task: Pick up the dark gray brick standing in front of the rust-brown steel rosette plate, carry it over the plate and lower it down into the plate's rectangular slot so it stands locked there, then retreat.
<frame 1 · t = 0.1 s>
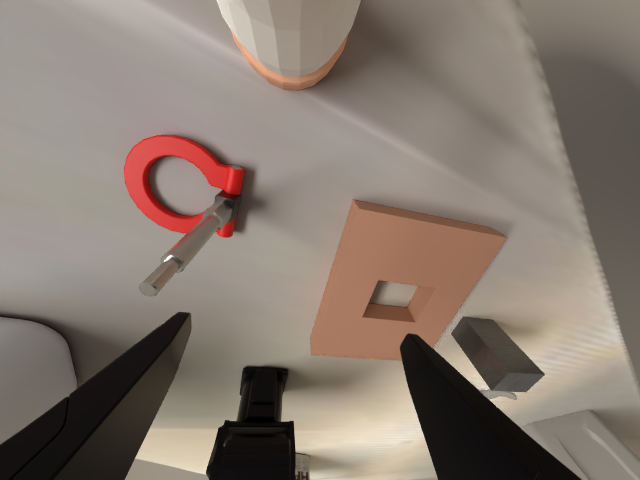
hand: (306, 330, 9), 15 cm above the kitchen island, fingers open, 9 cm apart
pliers: (473, 395, 44), on the kitchen island
tow hook: (189, 187, 21), on the kitchen island
rosette plate: (390, 288, 28), on the kitchen island
plastic bottle: (7, 352, 28), on the kitchen island
coffee box: (285, 460, 50), on the kitchen island
pepper shaker: (290, 29, 16), on the kitchen island
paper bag: (559, 425, 54), on the kitchen island
dark gray brick: (471, 326, 34), on the kitchen island
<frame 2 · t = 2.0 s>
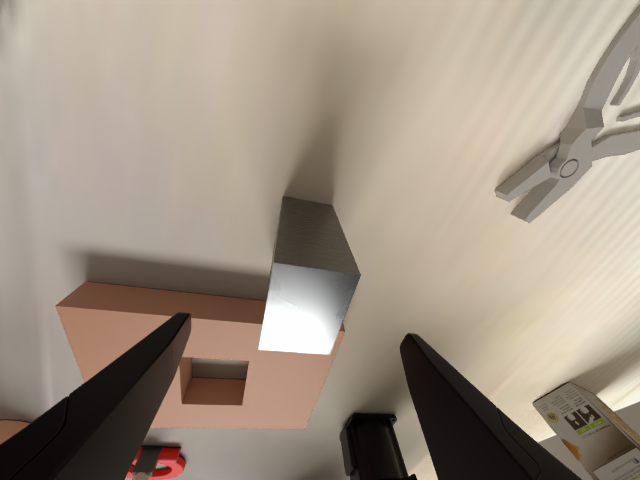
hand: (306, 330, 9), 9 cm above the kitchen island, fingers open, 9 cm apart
pliers: (595, 119, 16), on the kitchen island
tow hook: (154, 457, 32), on the kitchen island
rosette plate: (221, 357, 23), on the kitchen island
coffee box: (562, 397, 35), on the kitchen island
pepper shaker: (20, 434, 26), on the kitchen island
dark gray brick: (301, 232, 17), on the kitchen island
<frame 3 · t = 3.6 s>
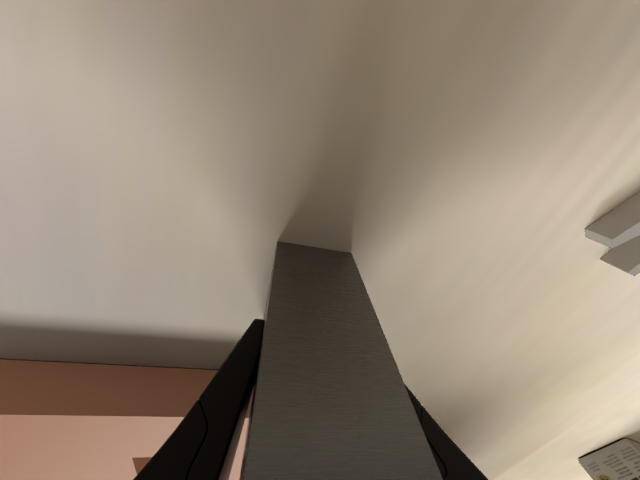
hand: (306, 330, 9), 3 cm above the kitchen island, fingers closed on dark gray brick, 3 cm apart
rosette plate: (199, 434, 17), on the kitchen island
coffee box: (612, 451, 29), on the kitchen island
dark gray brick: (304, 289, 12), on the kitchen island, touching gripper
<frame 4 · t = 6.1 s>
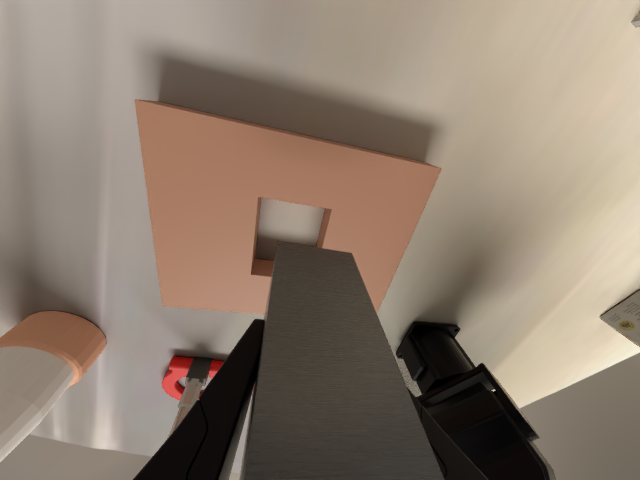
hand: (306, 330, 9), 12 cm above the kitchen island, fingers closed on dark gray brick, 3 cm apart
tow hook: (201, 376, 30), on the kitchen island
rosette plate: (289, 230, 21), on the kitchen island
coffee box: (630, 312, 32), on the kitchen island
pepper shaker: (67, 334, 24), on the kitchen island
dark gray brick: (304, 289, 12), point 10 cm above the kitchen island, touching gripper
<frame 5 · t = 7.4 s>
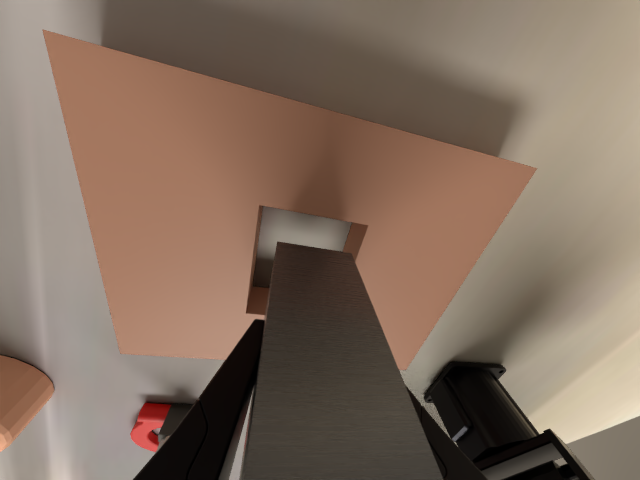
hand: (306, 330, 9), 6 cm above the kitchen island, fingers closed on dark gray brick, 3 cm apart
tow hook: (182, 422, 24), on the kitchen island
rosette plate: (301, 249, 15), on the kitchen island
pepper shaker: (0, 378, 18), on the kitchen island
dark gray brick: (304, 289, 12), point 4 cm above the kitchen island, touching gripper
when the fingers open (3 cm above the kitchen island, at t = 8.6 s): dark gray brick stays where it is, resting in rosette plate.
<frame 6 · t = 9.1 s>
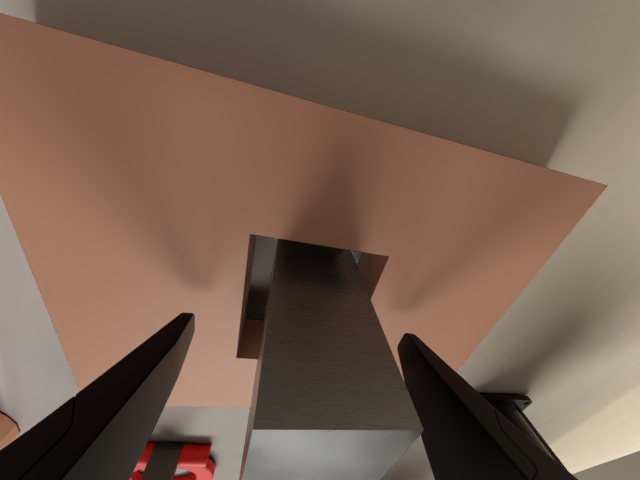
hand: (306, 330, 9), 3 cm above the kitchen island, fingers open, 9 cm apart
tow hook: (170, 459, 22), on the kitchen island
rosette plate: (303, 277, 13), on the kitchen island
dark gray brick: (304, 277, 13), resting in rosette plate
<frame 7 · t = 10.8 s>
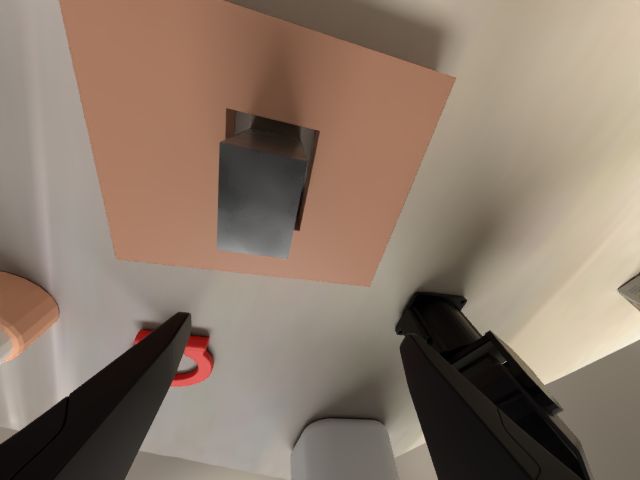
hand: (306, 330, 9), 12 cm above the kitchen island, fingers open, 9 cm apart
tow hook: (176, 355, 27), on the kitchen island
rosette plate: (270, 169, 17), on the kitchen island
plastic bottle: (337, 435, 41), on the kitchen island
pepper shaker: (11, 300, 21), on the kitchen island
dark gray brick: (271, 169, 17), resting in rosette plate
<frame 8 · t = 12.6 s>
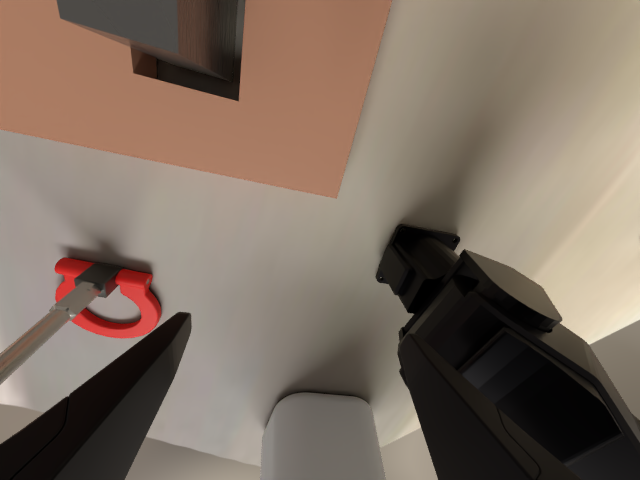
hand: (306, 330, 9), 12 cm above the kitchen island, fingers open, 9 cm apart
tow hook: (117, 298, 23), on the kitchen island
rosette plate: (204, 23, 14), on the kitchen island
plastic bottle: (316, 415, 37), on the kitchen island
dark gray brick: (204, 23, 14), resting in rosette plate
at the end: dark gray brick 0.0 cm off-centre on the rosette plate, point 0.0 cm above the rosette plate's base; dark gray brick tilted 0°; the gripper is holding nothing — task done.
